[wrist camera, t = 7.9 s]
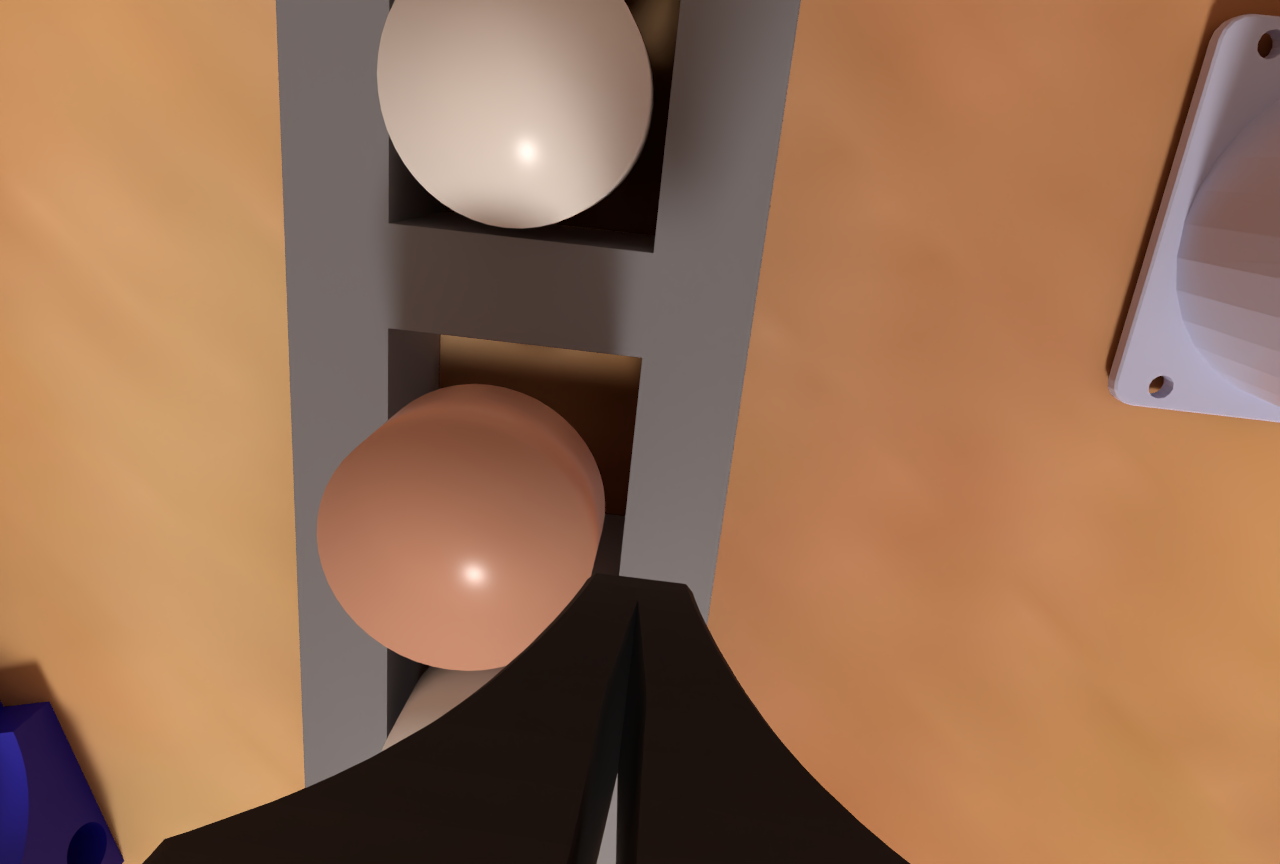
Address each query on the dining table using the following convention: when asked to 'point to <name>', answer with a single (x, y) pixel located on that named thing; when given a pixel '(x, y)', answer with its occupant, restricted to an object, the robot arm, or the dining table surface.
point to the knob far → (436, 698)
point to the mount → (515, 313)
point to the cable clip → (46, 795)
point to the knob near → (516, 103)
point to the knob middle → (462, 526)
